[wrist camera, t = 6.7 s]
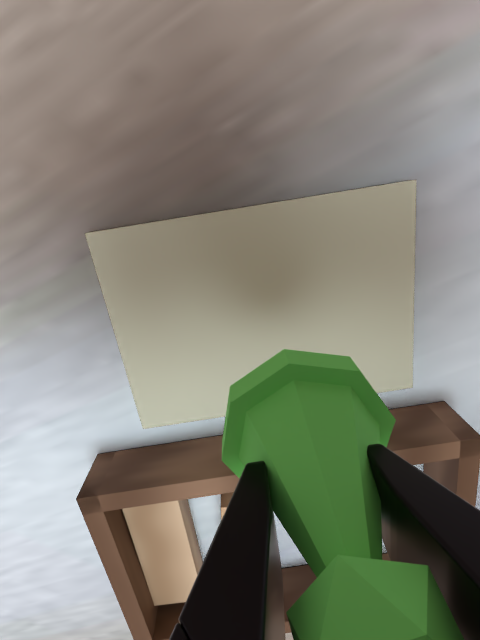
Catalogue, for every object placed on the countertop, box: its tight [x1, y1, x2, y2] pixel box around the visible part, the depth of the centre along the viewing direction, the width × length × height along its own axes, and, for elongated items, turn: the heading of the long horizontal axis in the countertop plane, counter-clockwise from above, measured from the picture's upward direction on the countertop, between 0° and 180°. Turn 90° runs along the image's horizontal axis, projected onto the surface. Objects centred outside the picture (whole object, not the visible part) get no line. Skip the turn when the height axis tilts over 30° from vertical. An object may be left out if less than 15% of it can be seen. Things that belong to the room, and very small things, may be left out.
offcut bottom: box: [122, 499, 203, 606], centre depth 21 cm, size 3×9×2 cm, turn 8°
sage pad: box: [85, 180, 416, 429], centre depth 17 cm, size 14×10×1 cm
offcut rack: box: [76, 401, 480, 640], centre depth 20 cm, size 19×12×3 cm, turn 99°
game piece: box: [222, 349, 464, 640], centre depth 6 cm, size 4×4×6 cm
